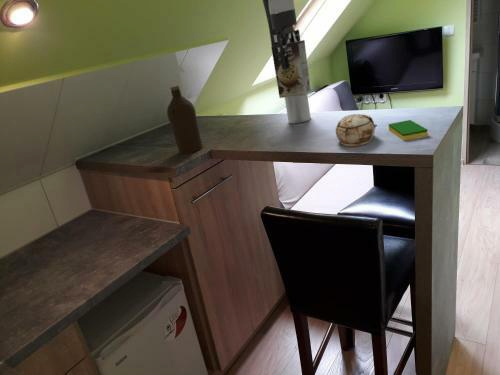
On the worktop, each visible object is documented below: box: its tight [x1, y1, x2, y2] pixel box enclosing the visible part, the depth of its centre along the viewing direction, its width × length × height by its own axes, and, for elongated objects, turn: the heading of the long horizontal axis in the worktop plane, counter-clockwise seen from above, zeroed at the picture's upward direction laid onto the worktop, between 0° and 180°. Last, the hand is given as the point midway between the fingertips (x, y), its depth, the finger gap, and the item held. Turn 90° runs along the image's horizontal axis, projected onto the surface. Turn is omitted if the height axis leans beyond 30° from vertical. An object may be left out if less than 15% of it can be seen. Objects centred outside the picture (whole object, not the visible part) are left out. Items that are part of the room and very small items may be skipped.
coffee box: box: [271, 39, 312, 99], centre depth 124 cm, size 9×6×16 cm
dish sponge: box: [387, 119, 429, 141], centre depth 120 cm, size 7×14×2 cm, turn 179°
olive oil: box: [166, 85, 204, 155], centre depth 150 cm, size 11×11×25 cm
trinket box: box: [335, 113, 378, 147], centre depth 123 cm, size 13×15×8 cm
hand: (291, 66), depth 124 cm, fingers closed on coffee box, 6 cm apart
